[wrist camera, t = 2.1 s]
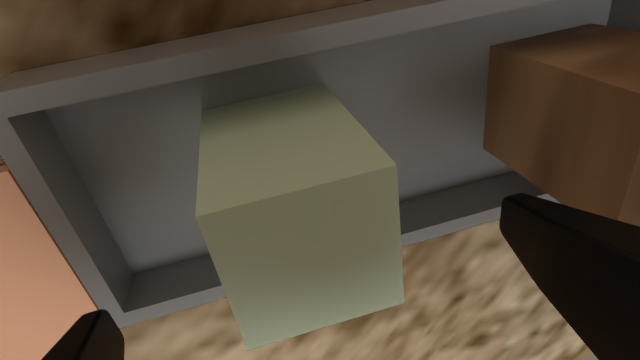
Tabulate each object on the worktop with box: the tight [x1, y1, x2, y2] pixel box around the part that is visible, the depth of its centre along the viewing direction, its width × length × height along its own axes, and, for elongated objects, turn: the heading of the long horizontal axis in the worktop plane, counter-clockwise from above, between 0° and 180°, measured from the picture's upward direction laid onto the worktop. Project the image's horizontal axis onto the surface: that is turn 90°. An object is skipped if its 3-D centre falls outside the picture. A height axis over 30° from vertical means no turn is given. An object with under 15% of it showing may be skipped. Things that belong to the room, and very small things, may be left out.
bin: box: [0, 0, 640, 328], centre depth 14 cm, size 20×8×2 cm, turn 99°
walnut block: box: [483, 23, 640, 227], centre depth 12 cm, size 4×4×6 cm
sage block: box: [195, 83, 405, 351], centre depth 11 cm, size 4×4×6 cm
